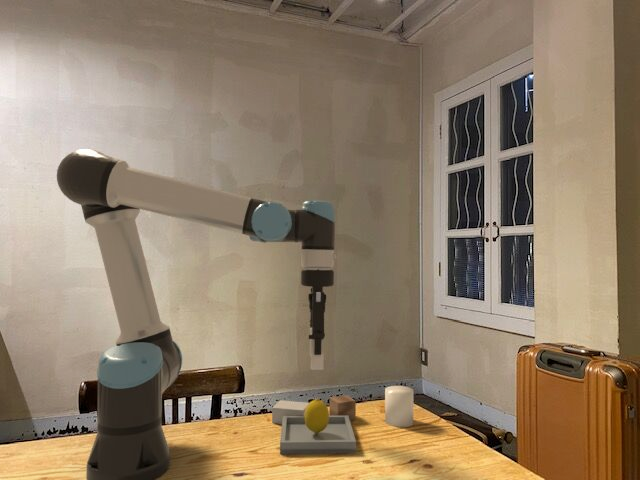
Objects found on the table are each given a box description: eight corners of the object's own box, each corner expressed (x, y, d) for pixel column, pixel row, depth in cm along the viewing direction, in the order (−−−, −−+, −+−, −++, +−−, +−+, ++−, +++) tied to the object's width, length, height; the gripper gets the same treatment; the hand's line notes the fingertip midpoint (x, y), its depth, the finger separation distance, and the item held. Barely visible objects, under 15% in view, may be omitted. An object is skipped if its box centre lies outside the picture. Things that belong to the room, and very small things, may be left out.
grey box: (272, 423, 118) (272, 407, 118) (280, 415, 124) (280, 400, 124) (303, 426, 116) (303, 410, 116) (309, 418, 122) (309, 402, 122)
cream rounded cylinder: (387, 427, 116) (387, 394, 116) (382, 417, 123) (382, 385, 123) (416, 427, 116) (416, 393, 116) (409, 416, 123) (409, 385, 123)
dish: (280, 454, 100) (280, 442, 100) (282, 426, 116) (282, 416, 116) (355, 453, 101) (355, 441, 101) (348, 425, 117) (348, 415, 117)
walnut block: (337, 423, 118) (337, 403, 119) (329, 416, 123) (329, 397, 123) (355, 420, 120) (355, 400, 121) (346, 414, 125) (346, 395, 125)
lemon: (329, 430, 111) (329, 395, 111) (327, 439, 105) (327, 403, 106) (306, 429, 111) (306, 394, 112) (302, 438, 106) (303, 402, 106)
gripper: (338, 271, 97) (336, 376, 97) (330, 267, 122) (329, 350, 121) (301, 270, 97) (299, 376, 96) (301, 266, 122) (299, 350, 121)
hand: (316, 362), depth 109 cm, fingers open, 13 cm apart
